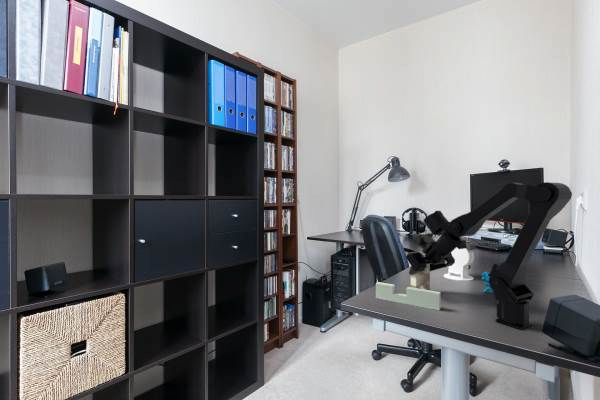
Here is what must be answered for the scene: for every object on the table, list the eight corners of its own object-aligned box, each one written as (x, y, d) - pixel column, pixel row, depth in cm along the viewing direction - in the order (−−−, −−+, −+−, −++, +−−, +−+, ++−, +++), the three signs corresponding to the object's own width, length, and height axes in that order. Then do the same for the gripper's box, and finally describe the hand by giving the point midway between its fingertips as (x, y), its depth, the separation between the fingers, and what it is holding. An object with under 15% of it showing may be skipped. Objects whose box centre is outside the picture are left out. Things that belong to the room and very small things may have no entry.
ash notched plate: (424, 289, 114) (424, 259, 114) (429, 291, 112) (429, 260, 112) (410, 292, 111) (410, 261, 111) (416, 294, 109) (416, 262, 109)
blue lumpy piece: (497, 295, 103) (478, 269, 109) (484, 304, 106) (466, 279, 113) (517, 295, 107) (498, 271, 114) (503, 304, 111) (486, 279, 118)
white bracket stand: (480, 278, 130) (480, 243, 130) (464, 282, 125) (464, 245, 125) (454, 272, 141) (454, 239, 141) (437, 276, 135) (437, 241, 135)
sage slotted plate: (440, 308, 96) (440, 292, 96) (439, 310, 94) (439, 293, 94) (377, 296, 107) (377, 282, 107) (375, 298, 106) (375, 283, 106)
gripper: (447, 226, 113) (422, 252, 122) (410, 228, 104) (386, 256, 114) (468, 251, 106) (439, 277, 115) (429, 256, 97) (402, 283, 107)
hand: (417, 272), depth 113 cm, fingers closed on ash notched plate, 7 cm apart
